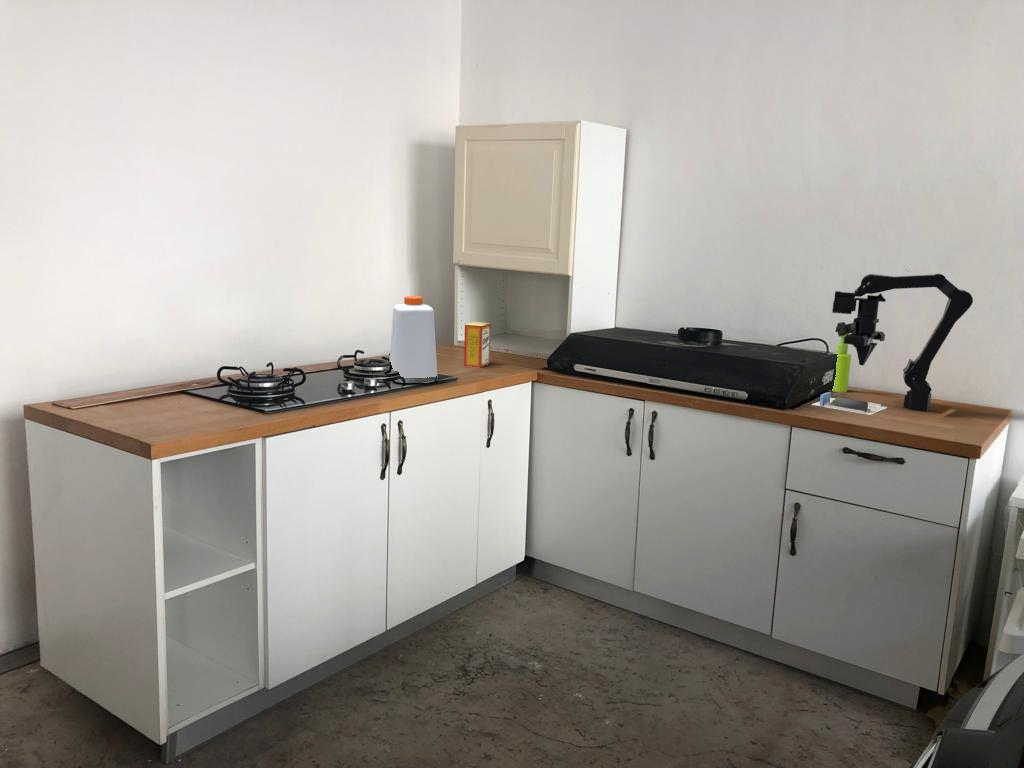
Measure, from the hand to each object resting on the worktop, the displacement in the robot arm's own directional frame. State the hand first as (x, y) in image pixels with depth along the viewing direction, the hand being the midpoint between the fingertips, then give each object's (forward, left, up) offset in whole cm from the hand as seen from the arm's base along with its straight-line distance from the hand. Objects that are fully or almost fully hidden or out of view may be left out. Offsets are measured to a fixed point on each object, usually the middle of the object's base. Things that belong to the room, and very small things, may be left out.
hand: (861, 365), depth 267 cm
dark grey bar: (-2, +11, -12) cm, 16 cm away
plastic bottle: (+119, +80, -13) cm, 144 cm away
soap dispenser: (+12, -16, -13) cm, 24 cm away
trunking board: (0, +6, -13) cm, 15 cm away
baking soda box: (+125, +43, -13) cm, 133 cm away
